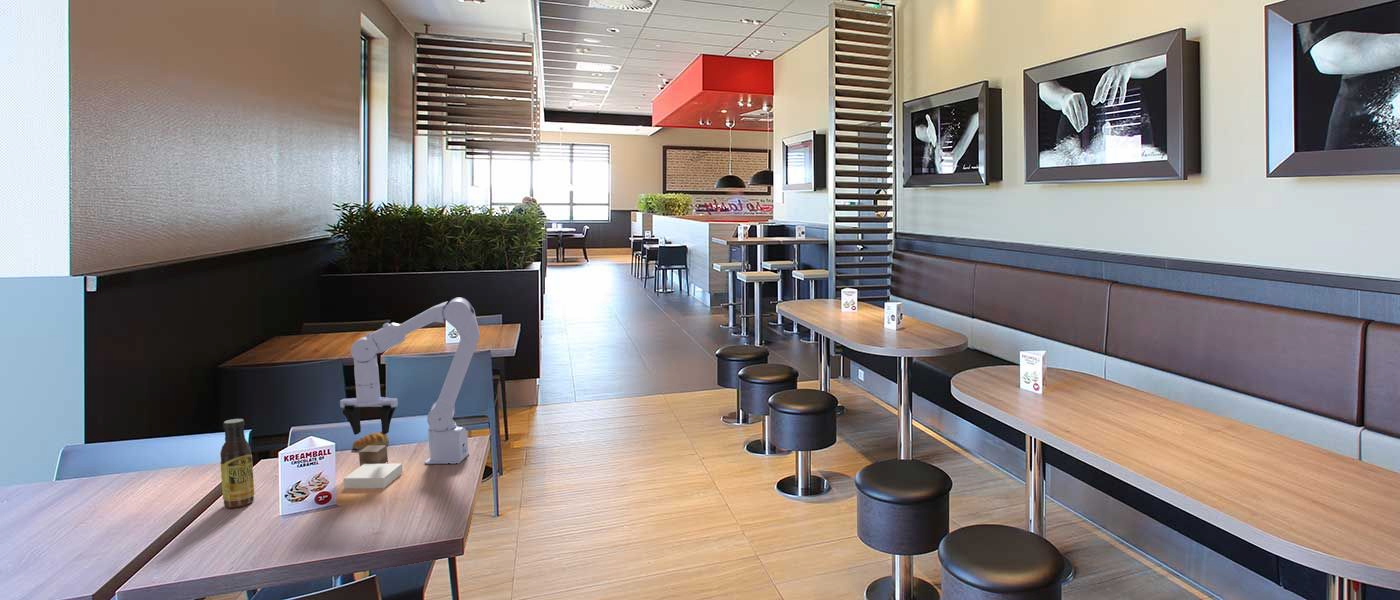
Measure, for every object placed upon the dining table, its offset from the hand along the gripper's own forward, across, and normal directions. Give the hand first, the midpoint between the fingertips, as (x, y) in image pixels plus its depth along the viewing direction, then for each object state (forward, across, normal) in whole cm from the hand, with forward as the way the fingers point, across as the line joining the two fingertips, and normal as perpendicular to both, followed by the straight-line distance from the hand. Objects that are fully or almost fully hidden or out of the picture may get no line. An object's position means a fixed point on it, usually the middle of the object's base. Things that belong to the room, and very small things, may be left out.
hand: (371, 433), depth 189 cm
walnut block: (+9, 0, 0) cm, 9 cm away
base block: (+10, +5, -10) cm, 15 cm away
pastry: (+10, -9, +17) cm, 21 cm away
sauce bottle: (+9, -20, -24) cm, 33 cm away
